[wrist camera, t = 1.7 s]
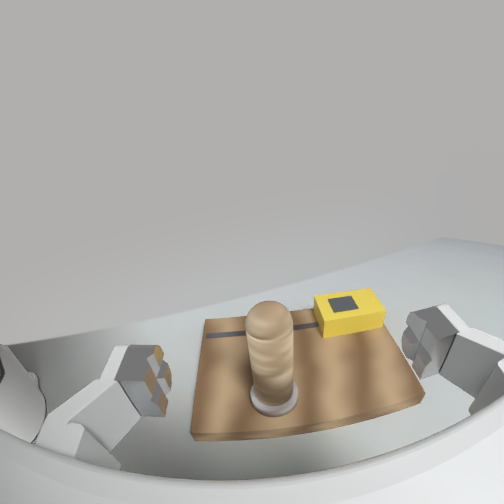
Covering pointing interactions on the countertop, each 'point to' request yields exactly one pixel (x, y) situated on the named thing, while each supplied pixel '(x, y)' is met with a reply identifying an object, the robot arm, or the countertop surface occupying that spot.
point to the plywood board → (300, 381)
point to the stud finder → (348, 312)
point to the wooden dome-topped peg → (271, 358)
